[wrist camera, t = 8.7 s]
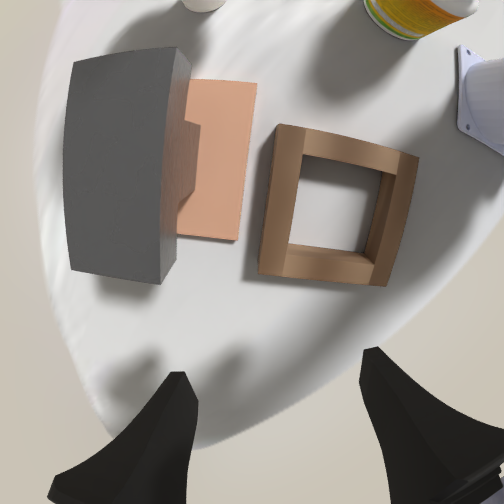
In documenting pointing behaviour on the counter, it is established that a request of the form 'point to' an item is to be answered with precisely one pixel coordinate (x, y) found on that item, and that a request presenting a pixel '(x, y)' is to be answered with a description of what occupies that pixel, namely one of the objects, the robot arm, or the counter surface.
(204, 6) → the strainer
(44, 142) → the counter surface
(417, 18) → the supplement bottle
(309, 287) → the counter surface
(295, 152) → the walnut holder
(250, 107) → the terracotta coaster
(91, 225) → the dark grey block
